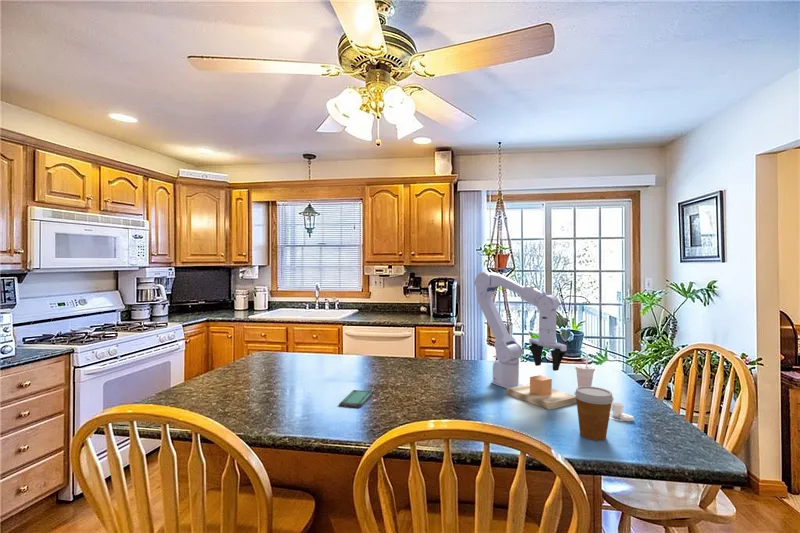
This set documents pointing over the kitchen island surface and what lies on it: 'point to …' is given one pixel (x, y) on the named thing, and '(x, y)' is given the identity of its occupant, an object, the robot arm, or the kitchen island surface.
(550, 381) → the block
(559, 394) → the base board
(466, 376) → the kitchen island surface
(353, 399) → the smartphone
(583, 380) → the smoothie
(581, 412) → the disposable coffee cup
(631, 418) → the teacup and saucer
